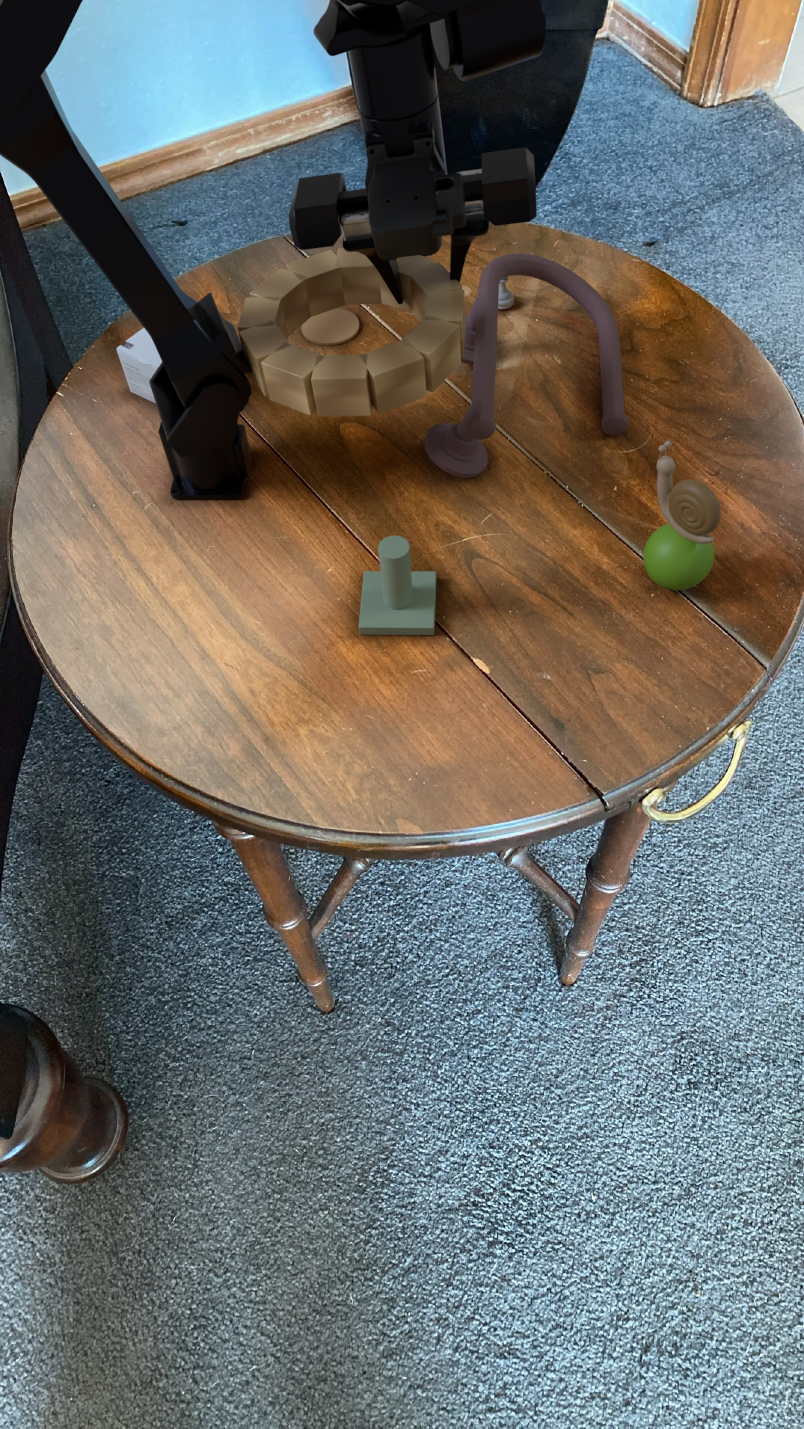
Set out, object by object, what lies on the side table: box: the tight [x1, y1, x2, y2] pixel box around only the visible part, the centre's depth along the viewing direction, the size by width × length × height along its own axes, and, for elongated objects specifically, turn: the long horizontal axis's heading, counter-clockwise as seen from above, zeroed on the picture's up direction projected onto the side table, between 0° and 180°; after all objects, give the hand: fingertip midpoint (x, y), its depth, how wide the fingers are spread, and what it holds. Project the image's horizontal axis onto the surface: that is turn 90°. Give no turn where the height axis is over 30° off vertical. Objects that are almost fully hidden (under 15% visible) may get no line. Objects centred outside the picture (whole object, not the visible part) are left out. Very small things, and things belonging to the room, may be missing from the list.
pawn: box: [498, 276, 515, 310], centre depth 100 cm, size 3×3×4 cm
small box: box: [116, 327, 162, 404], centre depth 94 cm, size 8×8×5 cm
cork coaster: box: [301, 307, 360, 347], centre depth 101 cm, size 6×6×1 cm
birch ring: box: [236, 247, 466, 418], centre depth 79 cm, size 18×18×4 cm
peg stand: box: [358, 535, 437, 636], centre depth 76 cm, size 6×6×7 cm
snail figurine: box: [642, 440, 722, 591], centre depth 75 cm, size 5×6×12 cm
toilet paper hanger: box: [423, 252, 629, 479], centre depth 92 cm, size 28×7×17 cm
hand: (427, 298), depth 81 cm, fingers closed on birch ring, 4 cm apart
